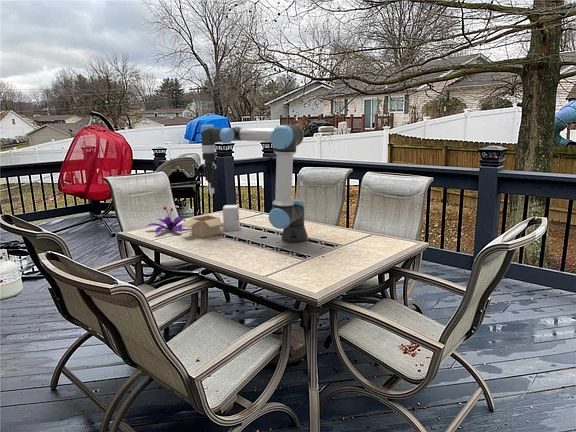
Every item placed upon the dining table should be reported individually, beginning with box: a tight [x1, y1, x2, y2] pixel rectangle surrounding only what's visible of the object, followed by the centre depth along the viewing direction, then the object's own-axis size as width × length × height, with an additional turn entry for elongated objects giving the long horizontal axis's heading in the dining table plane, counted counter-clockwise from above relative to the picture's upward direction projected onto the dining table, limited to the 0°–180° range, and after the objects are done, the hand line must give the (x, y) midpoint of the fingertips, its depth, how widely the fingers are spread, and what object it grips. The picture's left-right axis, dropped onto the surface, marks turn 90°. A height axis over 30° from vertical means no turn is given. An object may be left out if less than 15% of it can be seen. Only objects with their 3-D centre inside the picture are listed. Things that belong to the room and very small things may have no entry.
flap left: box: [181, 217, 199, 228], centre depth 248 cm, size 9×1×7 cm
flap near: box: [204, 217, 224, 228], centre depth 247 cm, size 1×9×7 cm
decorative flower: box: [145, 206, 187, 234], centre depth 266 cm, size 28×31×15 cm
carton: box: [190, 214, 224, 239], centre depth 258 cm, size 16×16×10 cm
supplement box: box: [222, 204, 240, 232], centre depth 266 cm, size 9×9×15 cm
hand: (211, 193), depth 245 cm, fingers closed
